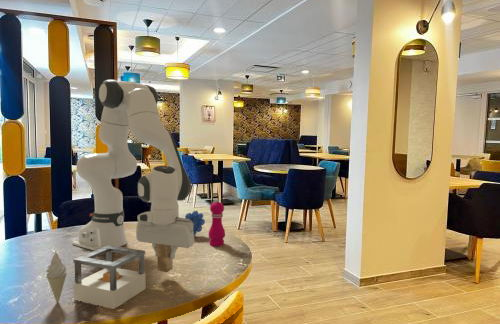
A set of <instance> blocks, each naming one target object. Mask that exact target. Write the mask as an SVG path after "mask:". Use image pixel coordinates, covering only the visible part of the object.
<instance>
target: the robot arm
mask: <svg viewBox="0 0 500 324" xmlns="http://www.w3.org/2000/svg"><path fill="white" fill-rule="evenodd" d="M98 100H99V102H100V103H101V105H102V106H103V108H102V109H103V110H102V112H101V118H100V123H99V124H100V125H99V131H98V139H99V140H100V141H101V143H102V144H103V145H106V146H107V152H102V153H101V152H100V153H98V152H97V153H89V154H86V155H83V156H80V157H79V159H78V160H77V162H76V171H77V174H78V176H79V177H80V178H81V179H82V180H84V181H85V182H86V183H87V184H88V185H89V187H90V188H91V190H92V194H93V200H94V211H93V212H92V213H90V214H89V217H91V220H90V221H89V222H87V223H86V224H85V225H84V226H82V227H81V228H80V230H79V232H78V238H77V239H75V240H73V241H72V245H73V246H77V247H81V248H84V249H88V250H91V251H95V250H98V249H100V248H103V247H105V246H108V245H110V246H117V247H123V246H125V245H127V243H128V241H127V237H126V232H125V226H124V221H125V220H124V219H125V211H124V208H123V207H124V206H123V202H124V201H123V200H124V199H123V192H122V191H121V190H120V189H118V188H117V187H115V186H113V184H112V180H113V179H121V178H122V179H123V178H125V177H128V176H132V175H133V174H135V172H136V171H137V168H138V163H137V159H136V157H135V156H134V155H133V154H132V153H131V151H130V149H129V145H128V138H129V131H130V135H132V137H133V138H135V140H137V141H138V142H140V143H143V144H146V145H148V146H151V147H154V148H156V149H158V150H159V151H161V153H162V154H163V155H164V157H165V160H166V162H167V165H157V166H154V167H153V168H152V170H151V172H150V173H148V174H144V175H143V176H141V177H140V178H139V180H138V181H137V186H136V187H137V190H136V191H137V197H138V198H139V199H140V200H142V202H144V203H151V205H150V210H147V211H144V212H141V213H140V214H138V215H137V218H136V219H137V221H138V222H137V223H136V233H135V234H136V235H135V236H136V240H137V241H138V242H139V243H147V244H152V245H151V247H152V249H153V250H154V252H155V254H154V255H155V257H156V258H157V244H163V245H168V246H171V249H173V250H172V251H171V252H170V253H169V254H168V256H169V257H168V258H169V259H175V258H176V252H177V250H178V248H184V249H189V248H190V247H192V246H193V245H195V236H194V233H193V222H192V221H191V220H189V219H188V218H184V217H179V216H180V214H179V212H180V211H179V208H180V207H179V201H180V202H181V201H182V202H183V201H185V200H186V199H187V198H188V196H189V195H190V193H191V192H192V183H191V179H190V177H189V175H188V174H187V171H186V170H185V169H186V168H185V166H184V164H183V161H182V158H181V156H180V153H179V149H178V147H177V144H176V141H175V138H174V137H173V134H172V133H171V132H170V131H169V130H167V129H166V128H165V126H164V125H163V123H162V121H161V117H160V113H159V108H158V102H159V101H158V100H159V97H158V92H157V89H155V88H154V87H152V86H150V85H149V84H142V83H139V82H134V81H126V80H125V81H123V80H116V79H105V80H103V82H102V83H101V84H100V86H99V90H98ZM189 221H190V222H189Z"/></svg>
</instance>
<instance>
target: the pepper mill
mask: <svg viewBox="0 0 500 324" xmlns="http://www.w3.org/2000/svg"><path fill="white" fill-rule="evenodd" d="M214 201H215V202H211V205H210V206H209V210H210V212H211V213H210V215H211V216H210V217H211V221H212V222H211V226H210V227H209V231H208V238H209V246H211V247H221V246H224V244H225V240H224V239H225V237H226V230H225V228H224V225H223V222H222V221H223V220H222V219H223V217H224V216H223V215H224V210H225V206H224V204H223V203H222V202H220V199H219V198H215V200H214Z"/></svg>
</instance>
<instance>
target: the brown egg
mask: <svg viewBox="0 0 500 324" xmlns="http://www.w3.org/2000/svg"><path fill="white" fill-rule="evenodd" d="M116 275H117V280H118V279H119V272H117V271H116ZM103 281H105V282H110V272H106V273H104V274H103Z"/></svg>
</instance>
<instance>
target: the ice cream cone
mask: <svg viewBox="0 0 500 324" xmlns="http://www.w3.org/2000/svg"><path fill="white" fill-rule="evenodd" d="M45 272H46V278H47V280H48V283H49V286H50V288H51V291H52V294H53V297H54V300H55V302H59V303H60V300H61V297H62V296H61V295H62V292H63V289H64V284H65V281H66V277H67V274H68V273H67V267H66V265H65V264H64V263H63V262H62V259H61V258H60V256H59V255H58V252H57V250H55V252H54V254H53V257H52V259H51V260H50V264H49V265H48V266H47V269H46V271H45Z"/></svg>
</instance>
